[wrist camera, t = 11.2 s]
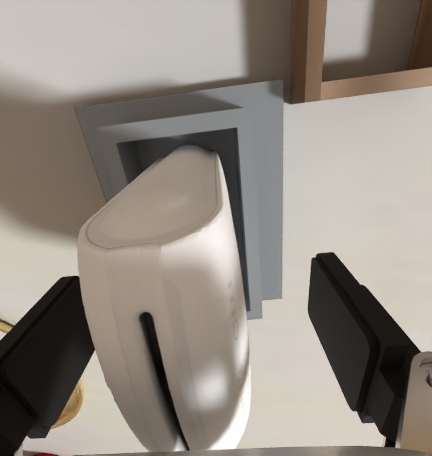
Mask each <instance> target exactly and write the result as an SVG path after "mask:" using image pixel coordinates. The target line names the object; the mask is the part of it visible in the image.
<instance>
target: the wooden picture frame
mask: <svg viewBox="0 0 432 456" xmlns="http://www.w3.org/2000/svg"><path fill="white" fill-rule="evenodd" d="M326 10H327V0H292V45H291V98H290V104H297V103H304V102H312V101H320V100H327V99H335V98H342V97H350V96H357V95H365V94H372V93H380V92H388V91H395V90H403V89H410V88H418V87H425V86H432V0H422V2H421V7H420V12H419V17H418V22H417V27H416V32H415V37H414V42H413V46H412V51H411V56H410V61H409V66H408V71H400V72H393V73H386V74H378V75H371V76H363V77H356V78H349V79H341V80H334V81H327V82H322V69H323V54H324V39H325V25H326Z"/></svg>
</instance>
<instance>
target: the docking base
mask: <svg viewBox="0 0 432 456" xmlns="http://www.w3.org/2000/svg"><path fill="white" fill-rule="evenodd" d="M283 85H284V79H279V80H272V81H264V82H257V83H250V84H243V85H235V86H228V87H221V88H213V89H206V90H199V91H192V92H184V93H177V94H170V95H162V96H155V97H148V98H141V99H133V100H126V101H119V102H111V103H104V104H97V105H90V106H82V107H75V111H76V114H77V117H78V120H79V123H80V126H81V129H82V132H83V135H84V137H85V140H86V143H87V146H88V149H89V152H90V155H91V158H92V161H93V164H94V167H95V170H96V172H97V175H98V178H99V181H100V184H101V187H102V190H103V193H104V196H105V199H106V202H107V203H108V202H109V201H110V200H111V199H112V198H113V197H115V196H116V195H117V194H118V193H120V192H121V191H122V190H123V189H124V188H125V187H127V186H128V185H129V184H130V183H131V182H132V181H133V180H135V179H136V178H137V177H138V176H139V175H140V174H141V173H142V172H144V171H145V170H146V169H147V168H148V167H149V166H151V165H152V164H153V163H154V162H155V161H156V160H158V159H159V158H161V157H166V156H167V155H168V154H170V153H171V152H172V151H173V150H174V149H176V148H178V147H180V146H183V145H198V146H201V147H204V148H206V149H208V150H209V151H210V152H213V151H216V152H217V153H218V155H219V158H220V161H221V164H222V168H223V172H224V176H225V181H226V186H227V191H228V197H229V203H230V208H231V214H232V220H233V226H234V231H235V236H236V242H237V248H238V253H239V260H240V267H241V274H242V282H243V290H244V298H245V307H246V317H247V320H251V319H261V318H262V300H272V299H282V221H283Z"/></svg>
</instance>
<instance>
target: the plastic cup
mask: <svg viewBox="0 0 432 456" xmlns="http://www.w3.org/2000/svg"><path fill="white" fill-rule="evenodd" d="M34 456H56V455H52V454H37V455H34Z"/></svg>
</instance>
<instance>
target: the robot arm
mask: <svg viewBox="0 0 432 456" xmlns="http://www.w3.org/2000/svg"><path fill="white" fill-rule="evenodd" d="M308 314H309V317H310V320H311V322H312V324H313V326H314V329H315V331H316V333H317V335H318V338H319V340H320V342H321V344H322V347H323V349H324V351H325V353H326V356H327V358H328V360H329V362H330V365H331V367H332V369H333V372H334V374H335V376H336V378H337V381H338V383H339V385H340V387H341V390H342V392H343V394H344V396H345V399H346V401H347V403H348V405H349V407H350V409H351V410H352V411H357V413H358V415H359V417H360V419H361V422H362V423H375V424H376V426H377V428H378V430H379V432H380V433H381V434H382V435H383V436H384V438H383V444H382V447H370V446H325V447H278V448H250V449H222V450H194V451H169V452H144V453H120V454H97V455H74V456H432V352H430V351H427V352H421V351H420V350H419V349H418V348H417V347H416V345H415V344H414V343H413V342H412V341H411V339H410V338H409V337H408V336H407V335H406V334H405V332H404V331H403V330H402V329H401V328H400V326H399V325H398V324H397V323H396V322H395V321H394V319H393V318H392V317H391V316H390V315H389V313H388V312H387V311H386V310H385V309H384V308H383V306H382V305H381V304H380V303H379V302H378V300H377V299H376V298H375V297H374V296H373V295H372V293H371V292H370V291H369V290H368V289H367V288H366V287H365V286H363V285H360V284H359V283H358V281H357V280H356V279H355V278H354V276H353V275H352V274H351V273H350V272H349V270H348V269H347V268H346V267H345V266H344V264H343V263H342V262H341V261H340V259H339V258H338V257H337V256H336V255H335V254H334V253H333V252H330V253H319V254H317V255H316V258H312V261H311V273H310V286H309V299H308ZM94 351H95V347H94V344H93V341H92V337H91V333H90V330H89V326H88V322H87V318H86V315H85V309H84V305H83V300H82V294H81V287H80V278H79V277H78V276H68V277H62V278H60V279H59V280H58V281H57V282H56V283H55V284H54V285H53V286H52V287H51V288H50V289H49V290H48V291H47V293H46V294H45V295H44V296H43V297H42V298H41V299H40V300H39V301H38V302H37V303H36V304H35V305H34V306H33V307H32V308H31V309H30V310H29V311H28V312H27V313H26V314H25V315H24V316H23V318H22V319H21V320H20V321H19V322H18V323H17V324H16V325H15V326H14V327H13V328H12V329H11V330H10V331H9V332H8V333H7V334H6V335H5V336H4V337H3V338H2V339H1V340H0V456H23V445H22V442H23V441H24V439H25V437H26V436H28V437H29V438H30V439H33V438H46V436H47V434H48V432H49V430H50V429H51V427H52V426H53V425H55V423H56V422H57V421H58V419H59V417H60V416H61V414H62V412H63V410H64V408H65V406H66V404H67V402H68V400H69V398H70V396H71V395H72V393H73V391H74V389H75V387H76V385H77V383H78V381H79V379H80V377H81V375H82V374H83V372H84V370H85V368H86V366H87V364H88V362H89V360H90V358H91V356H92V354H93V353H94Z"/></svg>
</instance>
